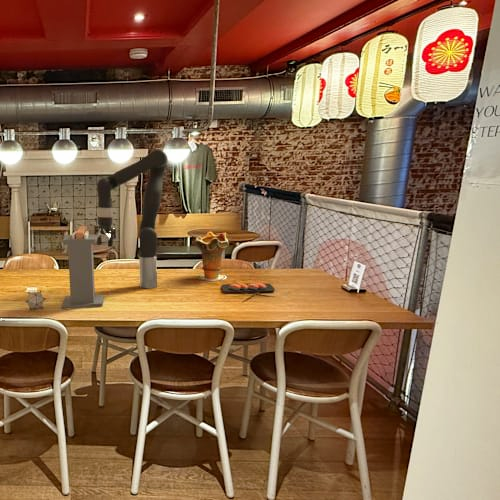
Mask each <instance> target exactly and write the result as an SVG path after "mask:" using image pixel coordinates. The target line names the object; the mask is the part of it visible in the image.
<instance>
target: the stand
mask: <svg viewBox="0 0 500 500" xmlns="http://www.w3.org/2000/svg"><path fill="white" fill-rule="evenodd" d="M76 232H77V230H75V231H74V232H73V233H72V234H66V235H65V236H64V238H63V239H62V245H67V256H68V257H67V258H68V259H67V261H68V275H69V292H70V293H69V294H70V295H68V296H64V298H63V301H62V303H61V305H60V309H61V310H66V309H67V308H70V309H82V308H101V307H103V306H104V298H105V295H104V293H102V294H96V292H95V291H96V288H95V269H94V268H95V267H94V265H95V263H94V244H97V233H96V234H94V233H93V234H90V232H89V230H87V231H86V233H85V234H84V238H83V239H76ZM67 310H68V309H67Z"/></svg>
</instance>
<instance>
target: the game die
mask: <svg viewBox="0 0 500 500" xmlns="http://www.w3.org/2000/svg"><path fill="white" fill-rule="evenodd" d="M46 299H47V297H44V296H43V295H42V290H40V291H39V292H31V293H30V292H29V291H28V297H27V300H25V302H24V303H27V305H28V307H29V310H30V311H32V310H33V309H44V307H43V305H44V302H45V301H46Z"/></svg>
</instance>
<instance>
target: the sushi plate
mask: <svg viewBox="0 0 500 500" xmlns="http://www.w3.org/2000/svg"><path fill="white" fill-rule="evenodd" d="M220 288H221V290H222V292H225V293H243V294H250V297H247V298H245V300H242V301H241V303H244V302H247V301H249V300H250V299H251V298H252V297H254V296H262V297H269V298H275V296H272V295H266V294H261V292H263V293H264V292H274V291H275V288H274V286H273V285H272V284H271V283H262V282H257V283H242V282H241V283H240V282H239V283H226V284H221V287H220ZM259 293H260V294H259Z"/></svg>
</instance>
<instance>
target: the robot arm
mask: <svg viewBox="0 0 500 500" xmlns="http://www.w3.org/2000/svg"><path fill="white" fill-rule="evenodd" d="M167 163H168V155H167V154H166V152H164V151H163V150H162V149H154V150H152V151H151V152H150V153H149V154H146V156H144V157H143V158H142V159H140V160H137V162H135V163H132V164H130V165H127V166H125V167H124V168H122V169H120V170H118V171H115V172H114V173H113V174H112V175H109V176H107V177H105V178H100V179H99V180H98V181H97V183H96V184H97V185H96V189H97V197H98V201H97V203H98V204H97V225H94V233H93V234H97V241H96V244H97V246H101V245H102V239H103V238H102V237H103V236H105V237H107V239H108V243H107V245H108V246H107V247H110V248H111V247H113V244H114V243H113V241H114V240H116V238H117V236H116V235H117V234H116V231H117V229H116V227H112V225H113V199H112V195H111V192H112V190H114V189H116V188H118V187H119V186H121V185H123V184H127V183H128V182H130V181H132V180H133V179H135V178H137V177H138V176H140V175H141V174H143V173H145V172H147V171H149V170H150V171H149V177H148V179H147V182H146V186H145V189H144V194H143V195H144V196H143V203H142V215H141V216H142V218H141V223H140V226H139V230H138V233H137V235H138V239H139V252H138V254H139V256H138V258H139V287H140V288H141V289H142V288H143V289H153V288H157V287H158V270H157V264H158V263H157V252H158V235H157V232H156V231H155V230H156V229H155V228H156V220H157V219H156V218H157V216H158V213H159V211H160V207H161V204H162V197H163V189H164V188H163V187H164V185H163V184H164V175H165V171H166V167H167Z"/></svg>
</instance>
